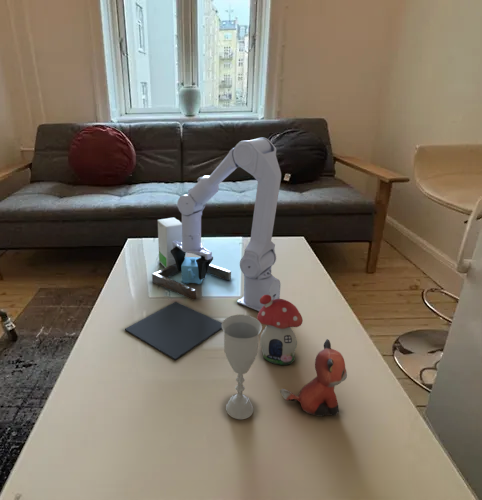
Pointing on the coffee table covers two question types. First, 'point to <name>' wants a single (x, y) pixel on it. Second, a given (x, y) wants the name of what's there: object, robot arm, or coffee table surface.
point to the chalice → (240, 358)
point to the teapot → (190, 271)
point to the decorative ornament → (278, 330)
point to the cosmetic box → (168, 239)
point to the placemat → (175, 329)
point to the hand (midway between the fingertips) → (191, 274)
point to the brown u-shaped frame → (182, 289)
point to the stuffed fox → (322, 384)
